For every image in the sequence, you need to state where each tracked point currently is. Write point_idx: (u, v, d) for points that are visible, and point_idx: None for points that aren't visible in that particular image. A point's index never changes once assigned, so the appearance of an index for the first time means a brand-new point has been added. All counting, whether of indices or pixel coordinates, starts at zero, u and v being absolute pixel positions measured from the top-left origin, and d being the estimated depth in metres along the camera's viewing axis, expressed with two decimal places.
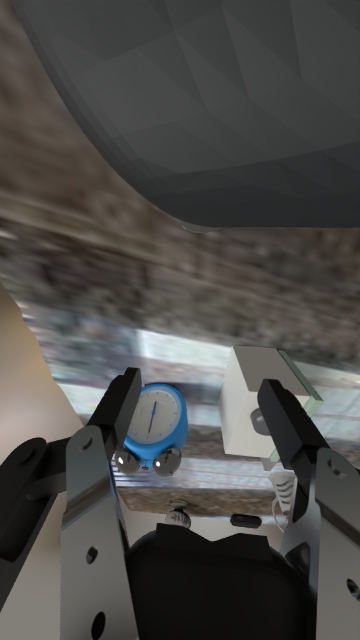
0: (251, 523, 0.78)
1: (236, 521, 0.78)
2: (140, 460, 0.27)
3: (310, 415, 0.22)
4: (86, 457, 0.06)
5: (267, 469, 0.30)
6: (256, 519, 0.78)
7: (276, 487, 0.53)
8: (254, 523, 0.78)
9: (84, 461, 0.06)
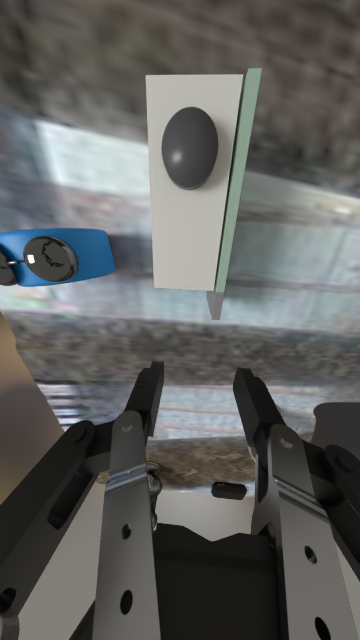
0: (234, 491, 0.67)
1: (217, 489, 0.67)
2: (17, 268, 0.18)
3: (248, 129, 0.14)
4: (128, 439, 0.06)
5: (215, 316, 0.22)
6: (240, 487, 0.67)
7: None
8: (238, 491, 0.67)
9: (131, 440, 0.06)
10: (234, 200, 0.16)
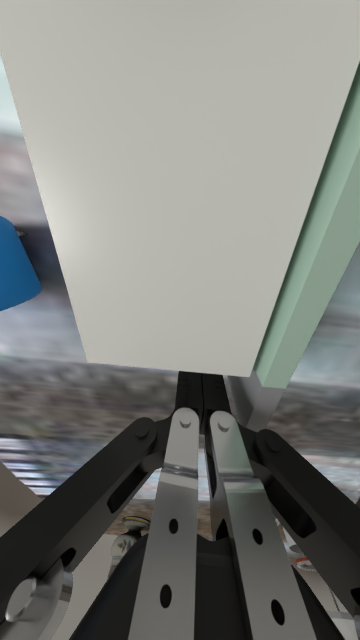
0: None
1: None
2: None
3: None
4: (184, 436, 0.06)
5: None
6: None
7: None
8: None
9: (194, 437, 0.06)
10: None
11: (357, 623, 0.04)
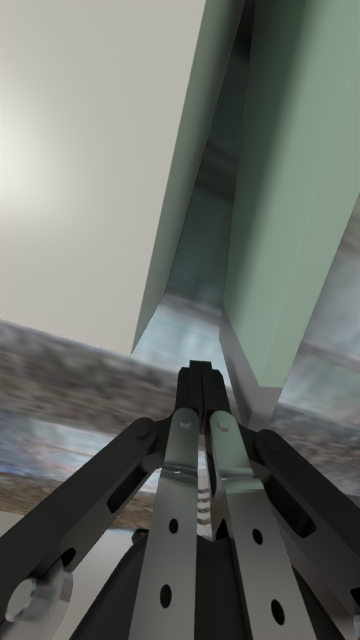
0: None
1: (138, 539, 0.56)
2: None
3: None
4: (184, 436, 0.06)
5: None
6: None
7: None
8: None
9: (194, 437, 0.06)
10: None
11: (357, 623, 0.04)
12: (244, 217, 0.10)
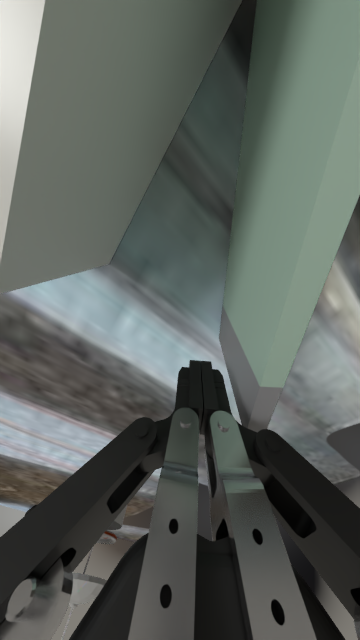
0: None
1: None
2: None
3: None
4: (184, 436, 0.06)
5: None
6: None
7: None
8: None
9: (194, 437, 0.06)
10: None
11: (357, 623, 0.04)
12: (244, 217, 0.10)
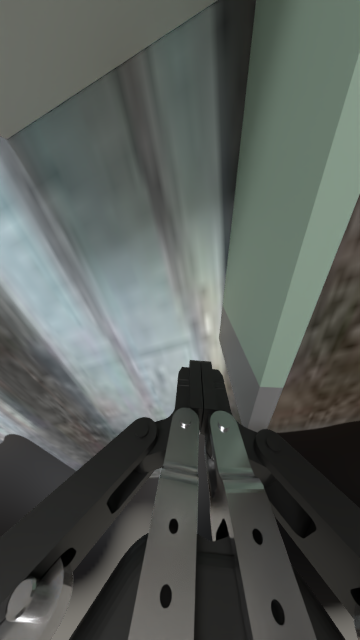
0: None
1: None
2: None
3: None
4: (184, 436, 0.06)
5: None
6: None
7: None
8: None
9: (194, 437, 0.06)
10: None
11: (357, 623, 0.04)
12: (244, 217, 0.10)
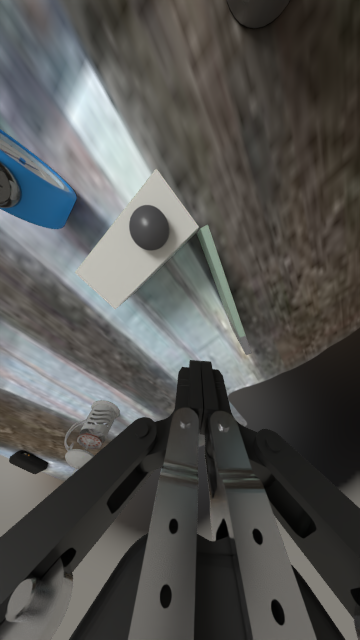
0: (34, 465, 0.68)
1: (18, 457, 0.66)
2: None
3: (214, 250, 0.21)
4: (184, 436, 0.06)
5: (247, 352, 0.28)
6: (43, 463, 0.70)
7: (92, 412, 0.50)
8: (37, 466, 0.69)
9: (194, 437, 0.06)
10: (224, 285, 0.23)
11: (357, 623, 0.04)
12: (219, 290, 0.30)
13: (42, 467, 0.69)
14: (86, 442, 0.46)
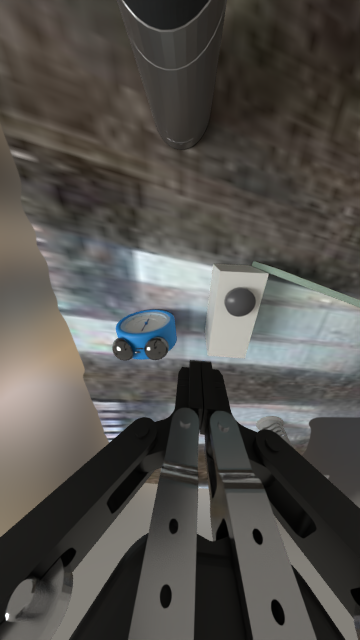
0: None
1: None
2: (134, 351, 0.31)
3: (293, 276, 0.25)
4: (184, 436, 0.06)
5: None
6: None
7: None
8: None
9: (194, 437, 0.06)
10: (318, 288, 0.26)
11: (357, 623, 0.04)
12: None
13: None
14: None
